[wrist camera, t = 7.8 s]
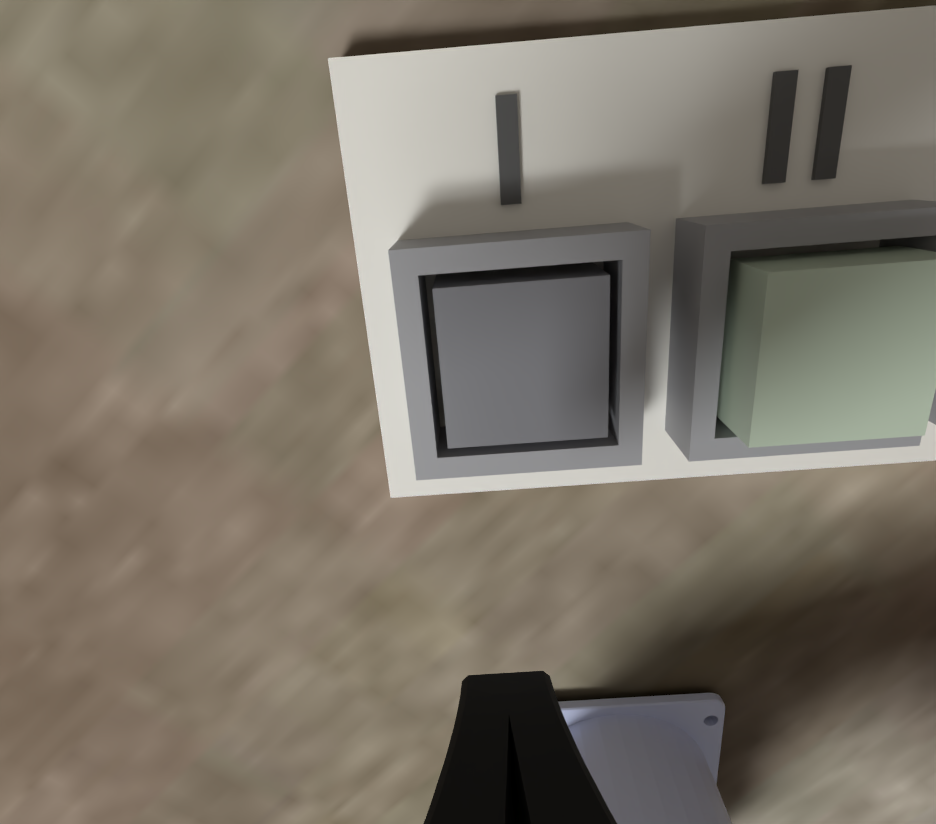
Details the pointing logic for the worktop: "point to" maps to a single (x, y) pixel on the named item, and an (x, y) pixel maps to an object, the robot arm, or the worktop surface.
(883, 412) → the key two
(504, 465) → the keypad
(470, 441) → the key one
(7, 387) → the worktop surface
